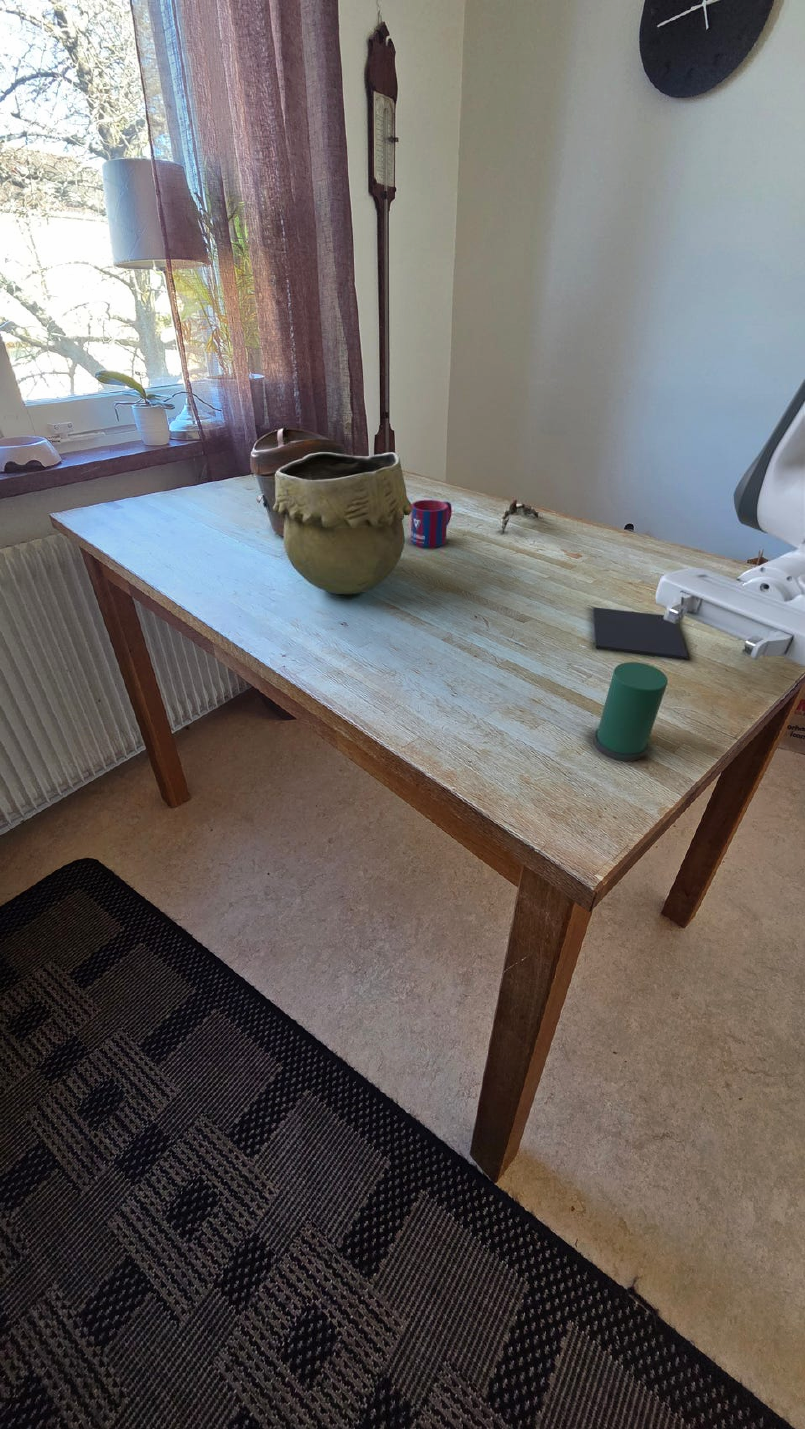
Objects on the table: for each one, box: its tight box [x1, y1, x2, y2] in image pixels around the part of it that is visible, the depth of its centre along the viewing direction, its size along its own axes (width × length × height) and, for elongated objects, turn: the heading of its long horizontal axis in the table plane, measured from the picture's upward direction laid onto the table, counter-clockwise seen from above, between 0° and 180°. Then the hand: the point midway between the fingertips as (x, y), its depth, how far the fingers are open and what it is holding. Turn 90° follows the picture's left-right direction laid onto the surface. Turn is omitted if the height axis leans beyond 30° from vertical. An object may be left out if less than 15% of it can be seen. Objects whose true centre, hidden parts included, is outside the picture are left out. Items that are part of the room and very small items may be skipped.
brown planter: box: [249, 426, 348, 537], centre depth 113 cm, size 18×20×18 cm
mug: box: [410, 499, 453, 549], centre depth 113 cm, size 7×10×7 cm
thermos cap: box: [593, 661, 669, 762], centre depth 63 cm, size 6×6×9 cm
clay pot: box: [273, 452, 412, 595], centre depth 91 cm, size 21×21×20 cm
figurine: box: [500, 499, 540, 533], centre depth 121 cm, size 6×4×15 cm
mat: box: [592, 607, 689, 661], centre depth 86 cm, size 12×12×1 cm
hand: (708, 632), depth 66 cm, fingers open, 8 cm apart
